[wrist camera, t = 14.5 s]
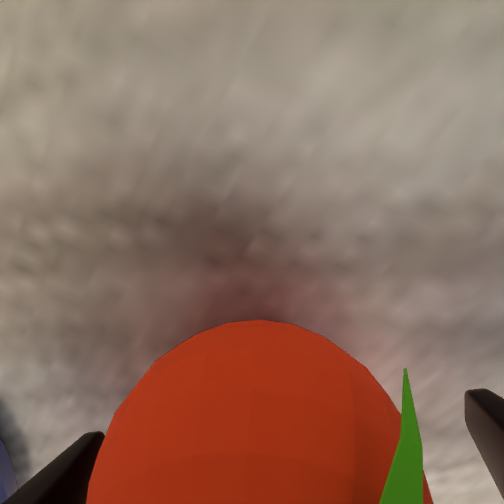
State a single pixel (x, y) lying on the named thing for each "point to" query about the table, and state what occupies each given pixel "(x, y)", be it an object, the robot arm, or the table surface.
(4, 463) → the tin lid
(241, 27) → the table surface
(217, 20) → the table surface
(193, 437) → the clementine
